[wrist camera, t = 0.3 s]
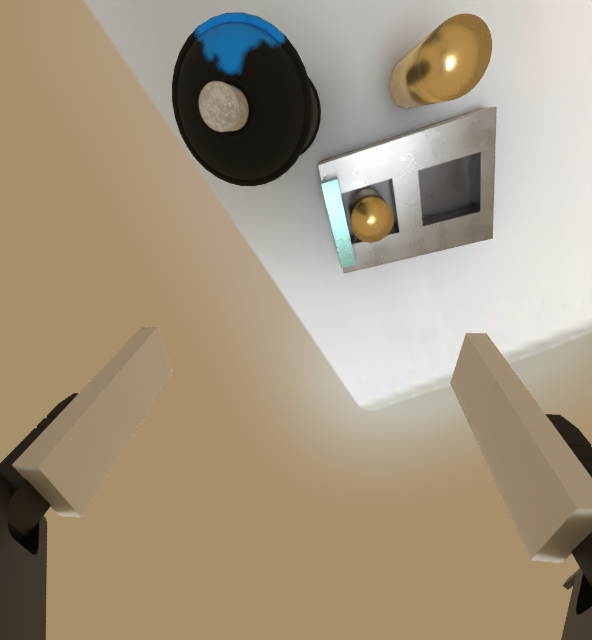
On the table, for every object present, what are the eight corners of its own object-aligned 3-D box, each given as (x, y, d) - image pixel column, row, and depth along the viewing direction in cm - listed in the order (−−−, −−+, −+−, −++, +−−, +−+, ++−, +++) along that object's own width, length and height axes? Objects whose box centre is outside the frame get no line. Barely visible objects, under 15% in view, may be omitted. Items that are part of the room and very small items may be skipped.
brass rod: (386, 63, 28) (417, 31, 18) (433, 45, 27) (492, 0, 17) (392, 114, 30) (423, 110, 20) (435, 98, 29) (491, 86, 19)
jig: (318, 162, 33) (316, 170, 27) (482, 108, 29) (515, 105, 24) (343, 263, 39) (344, 285, 33) (481, 229, 35) (507, 249, 30)
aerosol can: (322, 157, 32) (312, 194, 16) (247, 164, 34) (164, 205, 17) (318, 56, 28) (299, -39, 11) (232, 68, 29) (99, -4, 12)
